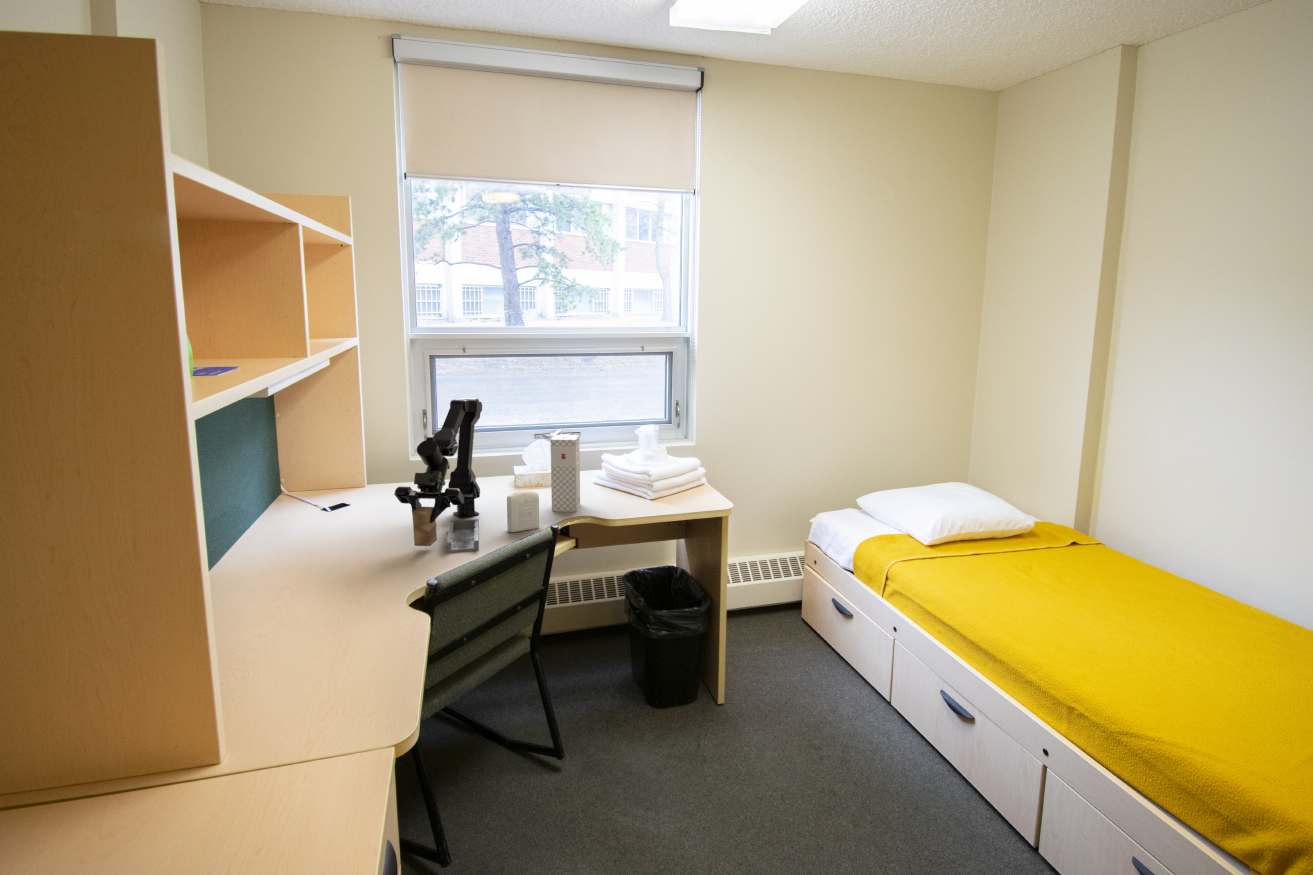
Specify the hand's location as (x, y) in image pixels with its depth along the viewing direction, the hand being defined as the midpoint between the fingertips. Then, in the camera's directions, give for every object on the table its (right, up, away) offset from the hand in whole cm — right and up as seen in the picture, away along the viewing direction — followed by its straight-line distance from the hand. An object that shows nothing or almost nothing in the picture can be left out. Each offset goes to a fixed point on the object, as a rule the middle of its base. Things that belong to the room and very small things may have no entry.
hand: (422, 522), depth 193 cm
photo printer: (+24, -5, +22) cm, 33 cm away
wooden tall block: (0, -6, +3) cm, 7 cm away
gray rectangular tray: (+8, -7, +12) cm, 16 cm away
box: (+35, -1, +44) cm, 56 cm away
